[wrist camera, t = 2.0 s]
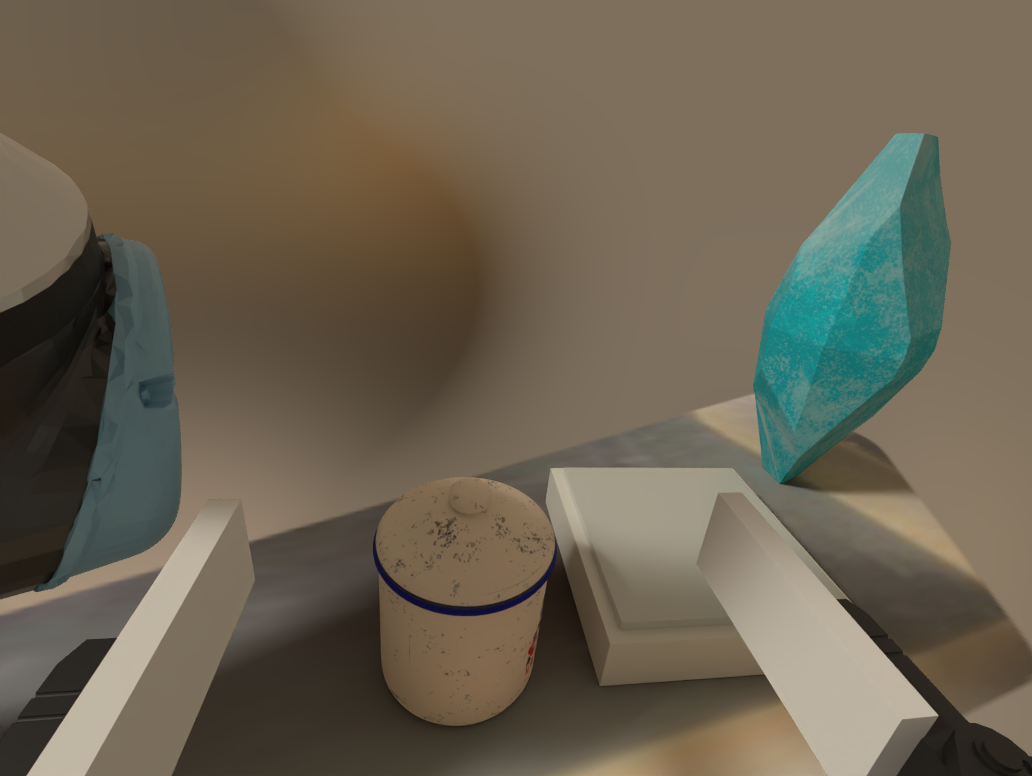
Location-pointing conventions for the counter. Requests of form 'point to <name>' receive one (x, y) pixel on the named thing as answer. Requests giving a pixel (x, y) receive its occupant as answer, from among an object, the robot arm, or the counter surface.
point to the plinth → (651, 570)
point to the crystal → (854, 308)
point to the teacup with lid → (461, 596)
